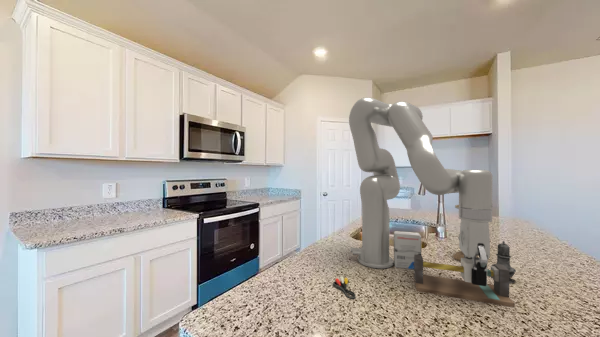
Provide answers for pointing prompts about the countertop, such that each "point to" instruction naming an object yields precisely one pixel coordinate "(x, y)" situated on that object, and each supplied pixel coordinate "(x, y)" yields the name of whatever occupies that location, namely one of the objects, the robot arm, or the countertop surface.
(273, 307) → the countertop surface
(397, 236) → the ink box
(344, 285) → the composite cable
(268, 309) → the countertop surface
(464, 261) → the sleeve
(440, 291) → the cord board
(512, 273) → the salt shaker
